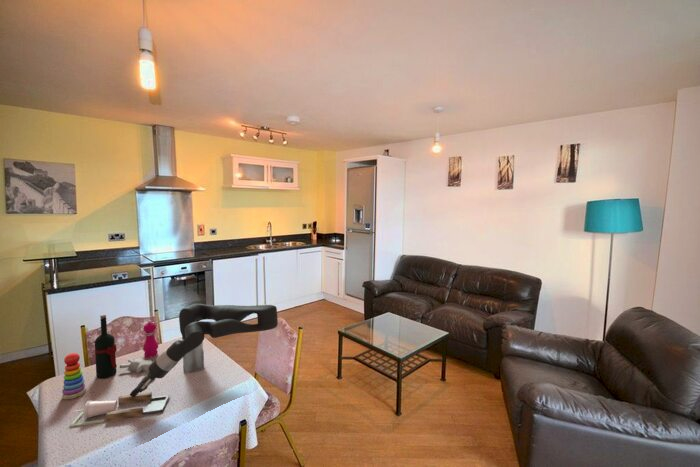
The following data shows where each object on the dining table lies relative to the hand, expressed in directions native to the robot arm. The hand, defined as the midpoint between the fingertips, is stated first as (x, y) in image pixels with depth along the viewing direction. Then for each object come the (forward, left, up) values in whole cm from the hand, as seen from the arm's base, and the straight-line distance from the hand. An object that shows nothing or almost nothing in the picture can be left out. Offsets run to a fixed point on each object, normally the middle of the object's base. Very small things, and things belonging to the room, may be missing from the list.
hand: (132, 395), depth 128 cm
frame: (+12, -4, -6) cm, 14 cm away
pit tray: (-8, +3, -6) cm, 11 cm away
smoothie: (+5, -2, -4) cm, 7 cm away
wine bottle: (+11, -37, -6) cm, 39 cm away
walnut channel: (+1, 0, -6) cm, 6 cm away
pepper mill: (-7, -50, -6) cm, 51 cm away
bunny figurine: (-2, -36, -7) cm, 36 cm away
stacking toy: (+22, -25, -6) cm, 34 cm away
